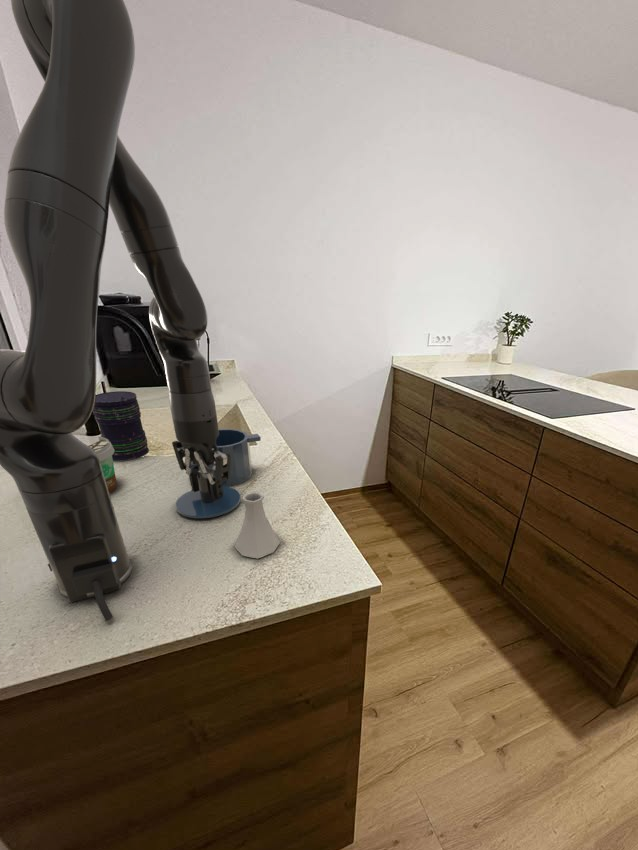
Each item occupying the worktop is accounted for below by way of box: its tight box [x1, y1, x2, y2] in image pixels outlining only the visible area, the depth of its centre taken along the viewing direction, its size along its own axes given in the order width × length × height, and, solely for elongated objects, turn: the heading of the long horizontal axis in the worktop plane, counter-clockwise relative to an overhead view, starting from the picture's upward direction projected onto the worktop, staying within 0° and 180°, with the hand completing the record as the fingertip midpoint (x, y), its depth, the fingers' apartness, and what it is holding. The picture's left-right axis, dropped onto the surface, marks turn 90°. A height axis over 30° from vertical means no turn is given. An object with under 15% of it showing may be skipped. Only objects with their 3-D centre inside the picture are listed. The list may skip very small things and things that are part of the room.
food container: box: [88, 436, 118, 494], centre depth 80 cm, size 12×6×10 cm, turn 168°
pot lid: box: [175, 473, 241, 519], centre depth 78 cm, size 12×12×7 cm
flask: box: [234, 491, 281, 560], centre depth 65 cm, size 7×7×10 cm
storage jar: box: [92, 390, 150, 462], centre depth 96 cm, size 10×10×15 cm
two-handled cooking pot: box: [198, 428, 261, 487], centre depth 89 cm, size 11×17×10 cm
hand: (207, 493), depth 78 cm, fingers open, 5 cm apart
